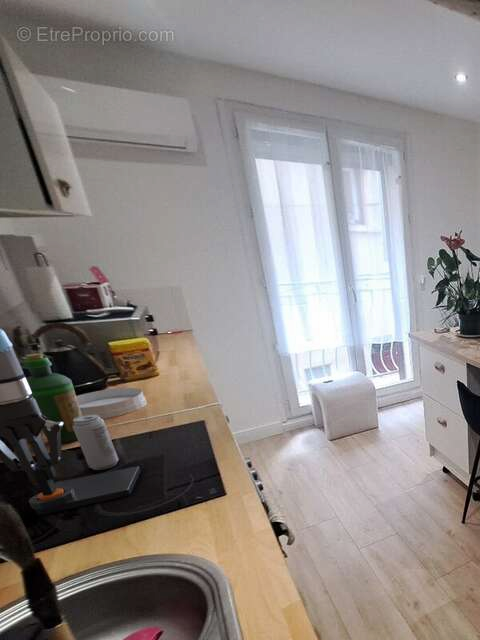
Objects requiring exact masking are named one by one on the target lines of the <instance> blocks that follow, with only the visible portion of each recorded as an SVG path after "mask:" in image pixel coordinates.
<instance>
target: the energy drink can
mask: <svg viewBox="0 0 480 640" xmlns="http://www.w3.org/2000/svg"><path fill="white" fill-rule="evenodd" d="M73 421H74V424H73V426H72V427H73V429H74V432H75V434H76V436H77V439H78V440H77V441H78V443H79V446H80V449H81V451H82V453H83V456H84V459H85V460H86V464H87V465H88V468H91V469H92V470H94V471H101V470H102V471H103V470H106V469H109V468H112V467H115V466H116V465H117V464H118V462H119V459H120V458H119V457H118V454H117V452H116V449H115V446H114V444H113V442H112V441H113V440H112V438H111V436H110V433H109V430H108V428H107V426H106V423H105V419H101V418H100V417H99V415H95V414H93V415H85V416H81V417H78V418H75V419H74V420H73Z"/></svg>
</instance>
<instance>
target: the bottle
mask: <svg viewBox="0 0 480 640" xmlns="http://www.w3.org/2000/svg"><path fill="white" fill-rule="evenodd" d="M25 357H26V358H25V359H24V360H23V365H24V366H23V367H24V369H27V370H28V371H29V374H30V376H28V377H26V380H27V382H28V384H29V387H30V389H31V391H32V394H31V395H30V396H33V397H34V398H35V400H36V402H37V404H38V407H39V409H40V412H41V414H42V415H43V416H45V417H46V418H47V420H49V421H53V422H58V421H62V422H63V423H64V425H63V427H62V429H61V444H67V443H73V442H75V441H78V439H77V436H76V434H75V432H74V429H73V427H72V426H73V424H74V421H73V420H74V419H75V418H78V417H81V416H82V414H81V410H80V407H79V404H78V401H77V397H76V396H77V394H76V390H75V388H74V384H73V382H72V379H71V378H69V377H67V376H66V375H64V374H60V373H55V372H53V371H52V369H51V366H52V365H53V363H52V362H51V361H50V360H49V358H48V357H46V356H43V353H30V354H26V355H25ZM42 432H43V434H44V436H45V438H46V439H47V441H48V442H49V433H50V431H48V430H47V427H46V426H44V428H43V429H42Z"/></svg>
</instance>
